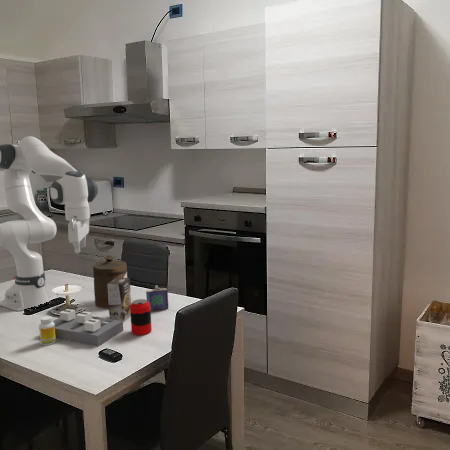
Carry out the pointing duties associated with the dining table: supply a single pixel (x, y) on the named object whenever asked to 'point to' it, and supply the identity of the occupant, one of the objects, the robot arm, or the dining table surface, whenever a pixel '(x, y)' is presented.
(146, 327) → the soda can
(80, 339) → the switch panel
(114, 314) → the coffee box
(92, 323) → the slider
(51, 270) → the dining table surface
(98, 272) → the wooden container
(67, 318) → the slider
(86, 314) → the slider
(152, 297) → the flask
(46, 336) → the supplement bottle
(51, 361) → the dining table surface
